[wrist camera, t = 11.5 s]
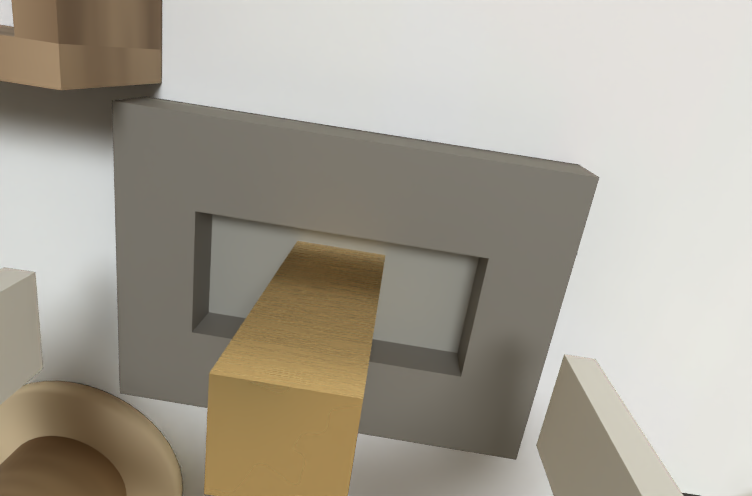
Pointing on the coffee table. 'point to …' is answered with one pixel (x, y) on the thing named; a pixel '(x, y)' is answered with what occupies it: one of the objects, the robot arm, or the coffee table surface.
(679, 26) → the coffee table surface
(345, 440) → the block
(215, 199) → the board
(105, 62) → the caddy
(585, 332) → the coffee table surface
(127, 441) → the wooden spool
